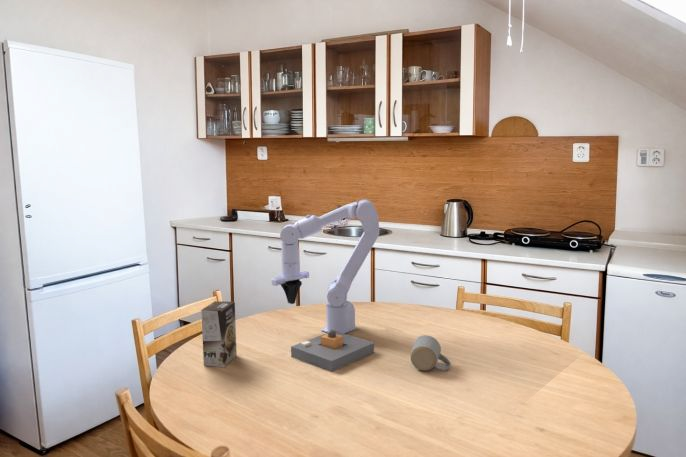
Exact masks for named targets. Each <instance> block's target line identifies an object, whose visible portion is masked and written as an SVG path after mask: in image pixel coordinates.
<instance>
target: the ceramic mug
mask: <svg viewBox="0 0 686 457" xmlns="http://www.w3.org/2000/svg"><path fill="white" fill-rule="evenodd" d="M441 348H442V347H441V344H440V343H439V341H438V339H436V338H434V337H433V336H431V335H427V334H424V335H420V336H418V337H417V338H416V339H414V342H413V344H412V348H411V351H410V361H411V364H412V365H413V366H414V368H416V369H417V370H419V371H422V372H427V371H431V370H432V369H433V368H436V369H438V370H440V371H444V372H447V371H449V369H450V368H451V366H452V363H451V361H450V360H449V359H448V357H446V355H443V354H442V352H441V351H442V349H441ZM438 360H440V361H441V362H442V364H441V363H440V362H438ZM443 363H444V364H445V365H443Z"/></svg>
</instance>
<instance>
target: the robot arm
mask: <svg viewBox="0 0 686 457" xmlns="http://www.w3.org/2000/svg"><path fill="white" fill-rule="evenodd" d="M355 216H356V218H357V219H358V221H359V222H360V223H361V226H362V230H363V232H362V234H361V236H360V238H359V240H358V241H357V243H356V245H355V247H354V248H353V250H352V252H351V253H350V255H349V257H348V259H347V260H346V263H344V266H343V267H342V268H341V271H340V273H339V274H338V275H337V277H336V278H335V280H333V281H331V283H330V284H329V285H328V287H327V295H326V300H327V301H326V303H325V308H326V309H325V310H326V316H325V318H326V319H325V320H326V321H325V322H326V324H325V325H326V326H325V327H322V328H321V329H320V331H322V332H325V333H328V331H329V330H335V331H337V332H340V333H344V334H347V333H349V332H351V331H355V330H357V329H358V326H356V308H355V305H354V303H352V302H351V301H349V300H348V299H347V298H348V293H349V291H350V288H351V286H352V285H353V284H352V283H353V281H354V280H355V277H356V276H357V274H358V273H359V271H360V269H361V268H362V265H363V264H364V262H365V260H366V258H367V256H369V253H370V252H371V250H372V248H373V246H374V245H375V243H376V241H377V239H378V238H379V236H380V223H379V222H380V220H379V213H378V210H377V209H376V206H375V205H374V203H373V202H372V201H371V200H369V199H361V200H359V201H354V202H351V203H348V204H345V205H342V206H341V207H337V208H336V209H333V210H332V211H329V212H326V213H325V214H322V215H320V216H318V215H316V214H315V215H314V214H312V215H311V214H307V215H305V218H303V219H300V220H297V221H295V220H293V221H292V222H291V224H287V225H284V226H283V228H282V229H281V230H280V233H279V237H280V241H281V249H280V250H281V252H280V253H281V255H280V256H281V274H280V275H278V276H277V277H275V278H271V285H272V286H275V287H278V286H279V285H280V286H281V288H282V289H283V291H284V294H285V296H286V297H285V298H286V300H287V304H290V305H293V304H295V303H296V302H297V296H298V293H299V290H300V288H301V287H302V281H301V280H303V279H310V272H309V271H301V270H300V269H301V268H300V267H301V266H300V248H299V239H300V240H301V239H305V238H307V237H310V236H312V235H315V234H317V233H319V232H321V231H322V228H323V226H327V225H329V224H332V223H335V222H338V221H340V220H342V219H343V220H344V219H350V220H351V219H352V220H355V219H356V218H355Z"/></svg>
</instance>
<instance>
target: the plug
mask: <svg viewBox="0 0 686 457" xmlns="http://www.w3.org/2000/svg"><path fill="white" fill-rule="evenodd" d="M326 333H327V334H326ZM326 333H324V334H325V335H323V334H322V335H323V336H321V335H320V336H321V346H324V347H327V348H330V349H333V350H336V349H338V348H341V347H343V336H341V335H336V331H335V330H329V331H328V332H326Z"/></svg>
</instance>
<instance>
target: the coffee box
mask: <svg viewBox="0 0 686 457" xmlns="http://www.w3.org/2000/svg"><path fill="white" fill-rule="evenodd" d="M235 304H236V303H235V301H213V302H211V303H210V304H208V305H207V306H206V307H204V308H202V309H201V311H200V312H201V332H202V333H201V334H202V336H201V337H202V353H203V354H202V356H203V359H202V360H203V366H204V367H205V366H206V367H216V368H224V367H226V366H227V365H228V364H229V363H231V361H233V359H234V358H235V357H237V352H238V351H237V328H236V327H237V326H236V305H235Z"/></svg>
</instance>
